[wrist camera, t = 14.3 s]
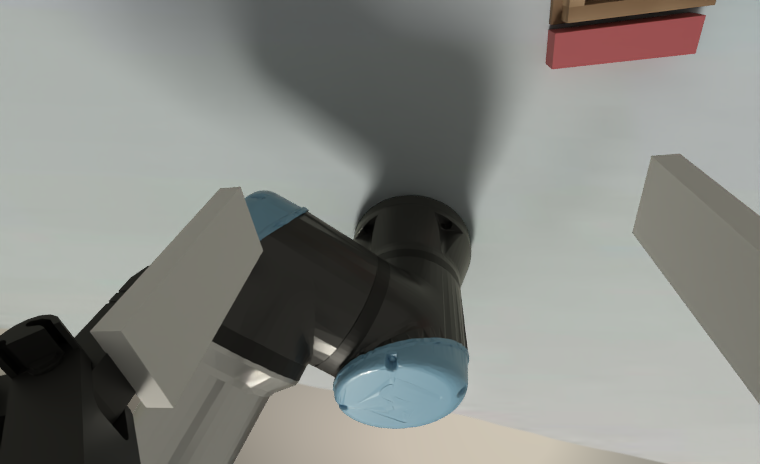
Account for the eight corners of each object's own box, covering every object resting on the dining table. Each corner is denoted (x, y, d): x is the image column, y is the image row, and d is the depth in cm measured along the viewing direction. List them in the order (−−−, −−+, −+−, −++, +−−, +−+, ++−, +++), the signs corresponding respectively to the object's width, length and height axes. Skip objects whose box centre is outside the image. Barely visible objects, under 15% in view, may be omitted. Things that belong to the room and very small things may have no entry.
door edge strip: (680, 48, 38) (695, 53, 36) (545, 63, 40) (552, 69, 38) (690, 12, 36) (705, 15, 34) (548, 29, 38) (555, 33, 36)
